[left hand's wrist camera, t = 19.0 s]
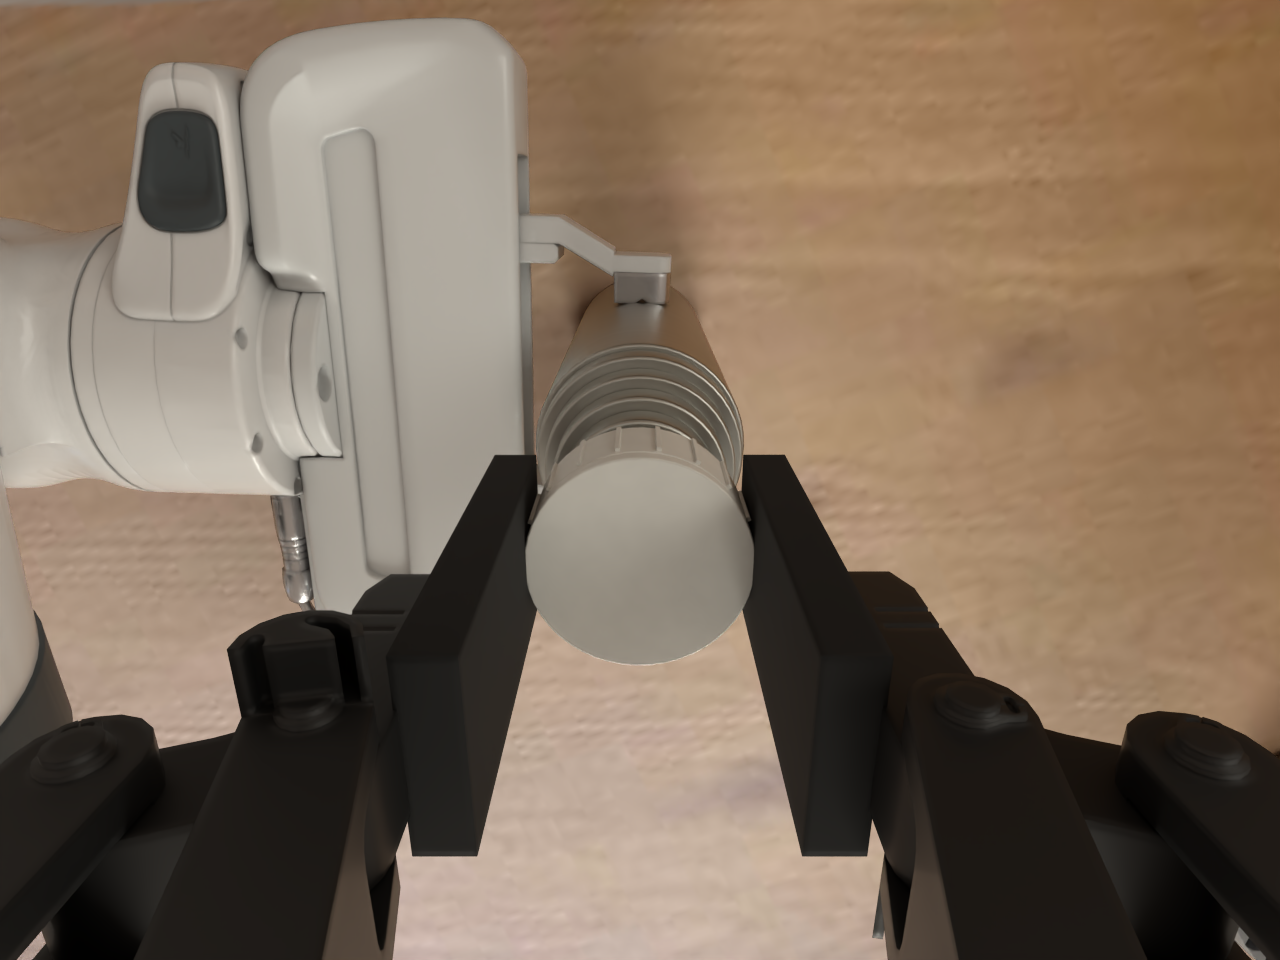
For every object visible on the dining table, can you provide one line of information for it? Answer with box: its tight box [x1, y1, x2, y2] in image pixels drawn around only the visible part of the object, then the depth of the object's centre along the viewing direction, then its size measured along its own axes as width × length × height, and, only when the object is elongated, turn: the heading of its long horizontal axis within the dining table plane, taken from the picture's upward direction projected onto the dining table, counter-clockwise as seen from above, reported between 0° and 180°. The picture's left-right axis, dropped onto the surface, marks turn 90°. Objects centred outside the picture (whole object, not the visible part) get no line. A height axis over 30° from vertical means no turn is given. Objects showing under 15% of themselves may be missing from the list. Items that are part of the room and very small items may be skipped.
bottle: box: [536, 284, 744, 486], centre depth 23 cm, size 5×5×20 cm
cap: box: [525, 426, 754, 665], centre depth 14 cm, size 4×4×2 cm
